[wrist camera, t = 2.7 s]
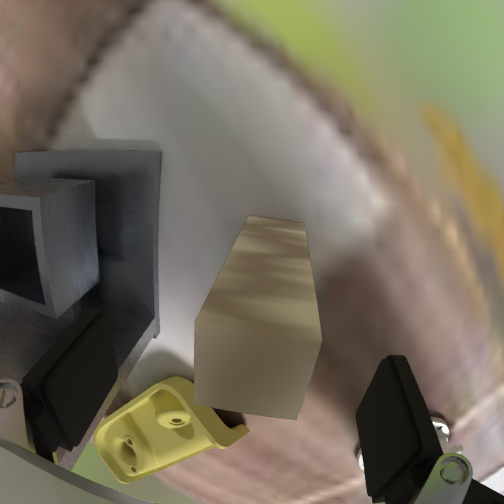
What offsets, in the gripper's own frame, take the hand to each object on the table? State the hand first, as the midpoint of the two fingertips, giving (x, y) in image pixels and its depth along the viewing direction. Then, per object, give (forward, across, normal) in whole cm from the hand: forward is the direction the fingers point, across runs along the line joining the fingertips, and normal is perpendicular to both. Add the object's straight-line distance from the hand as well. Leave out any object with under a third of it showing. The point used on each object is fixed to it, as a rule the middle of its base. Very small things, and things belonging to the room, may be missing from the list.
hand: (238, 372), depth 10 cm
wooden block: (+14, -1, +1) cm, 14 cm away
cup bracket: (+15, +16, +3) cm, 22 cm away
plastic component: (+14, +9, +25) cm, 30 cm away
